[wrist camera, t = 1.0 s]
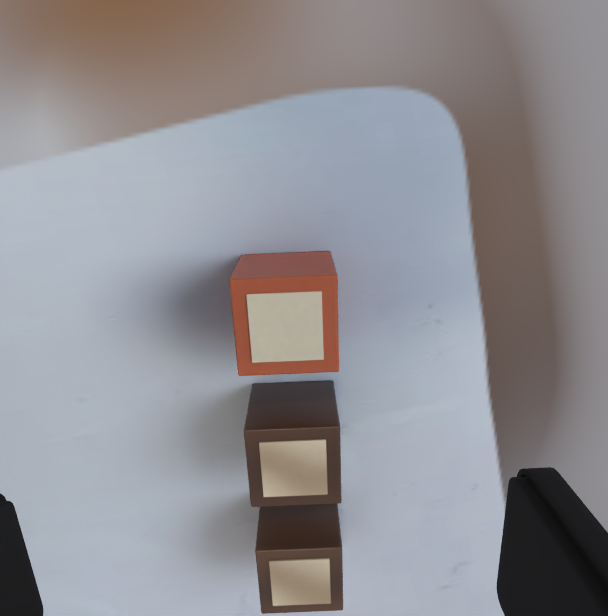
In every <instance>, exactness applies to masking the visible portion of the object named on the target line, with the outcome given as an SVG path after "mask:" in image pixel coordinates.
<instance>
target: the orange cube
mask: <svg viewBox="0 0 608 616" xmlns="http://www.w3.org/2000/svg"><path fill="white" fill-rule="evenodd" d="M229 283H230V293H231V304H232V314H233V324H234V335H235V345H236V355H237V366H238V375H239V376H247V375H271V374H294V373H318V372H338V371H339V339H338V281H337V273H336V269H335V266H334V262H333V259H332V256H331V252H330V251H317V252H293V253H270V254H246V255H241V257H240V259H239V261H238V263H237V265H236V267H235V269H234V271H233V273H232V275H231V277H230V280H229Z"/></svg>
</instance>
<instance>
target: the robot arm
mask: <svg viewBox="0 0 608 616" xmlns="http://www.w3.org/2000/svg"><path fill="white" fill-rule="evenodd" d="M497 594H498V599H499V602H500V605H501V608H502V610H503V612H504V615H505V616H608V533H607V532H606V530H605V529H604V528H603V527H602V525H601V524H600V523H599V522H598V520H597V519H596V518H595V517H594V516H593V514H592V513H591V512H590V511H589V509H588V508H587V507H586V506H585V505H584V504H583V502H582V501H581V500H580V498H579V497H578V496H577V495H576V494H575V492H574V491H573V490H572V489H571V487H570V486H569V485H568V484H567V482H566V481H565V480H564V479H563V478H562V477H561V475H560V474H559V473H558V472H557V471H556V470H555V469H554V468H529V469H521V470H520V471H519V472H518V474H517V477H512V478H511V479H510V480H509V485H508V493H507V502H506V510H505V519H504V527H503V536H502V545H501V553H500V562H499V570H498V579H497ZM0 616H43V605H42V601H41V598H40V594H39V591H38V587H37V584H36V580H35V577H34V574H33V570H32V567H31V563H30V560H29V556H28V553H27V549H26V546H25V542H24V539H23V535H22V532H21V528H20V525H19V522H18V518H17V515H16V511H15V508H14V505H13V503H12V502H10V501H6V499H5V497H4V496H3V495H2V494H0Z"/></svg>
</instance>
